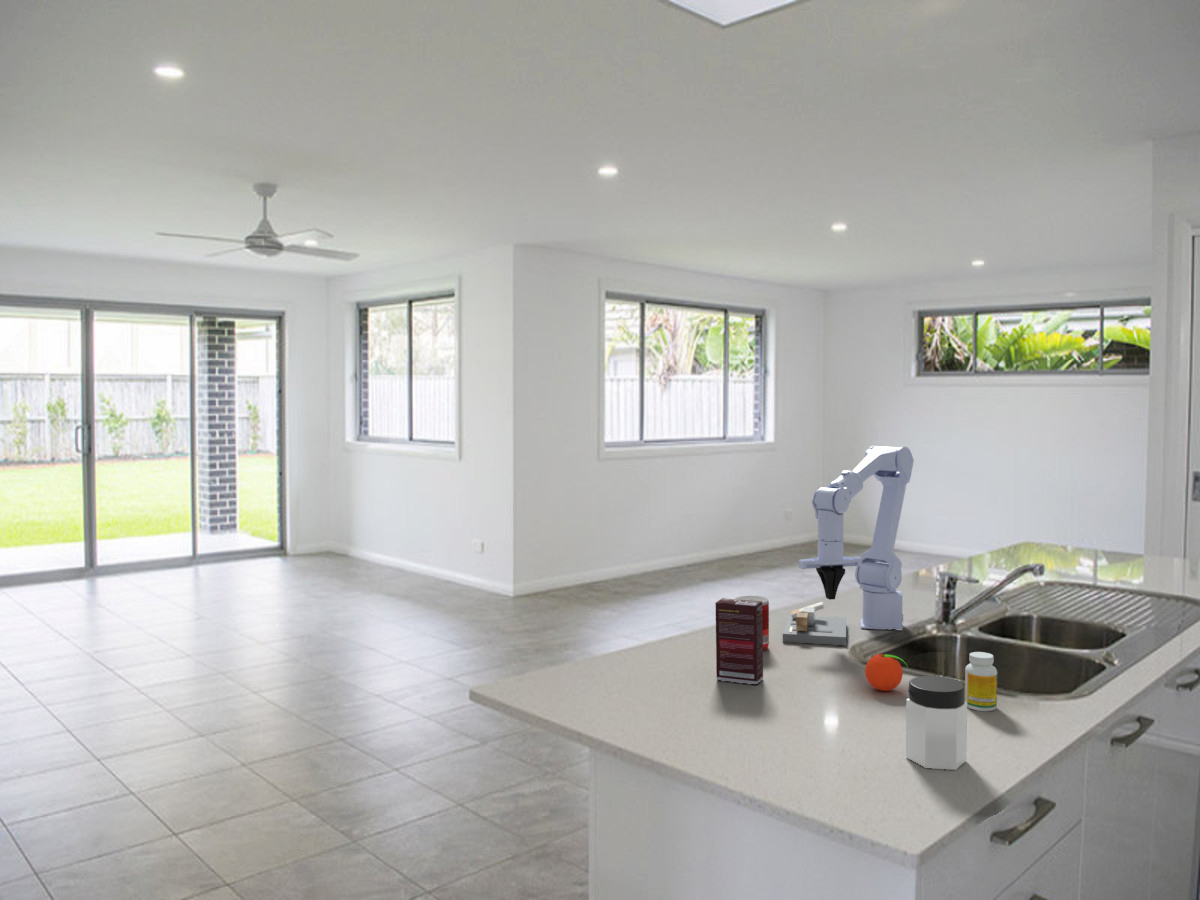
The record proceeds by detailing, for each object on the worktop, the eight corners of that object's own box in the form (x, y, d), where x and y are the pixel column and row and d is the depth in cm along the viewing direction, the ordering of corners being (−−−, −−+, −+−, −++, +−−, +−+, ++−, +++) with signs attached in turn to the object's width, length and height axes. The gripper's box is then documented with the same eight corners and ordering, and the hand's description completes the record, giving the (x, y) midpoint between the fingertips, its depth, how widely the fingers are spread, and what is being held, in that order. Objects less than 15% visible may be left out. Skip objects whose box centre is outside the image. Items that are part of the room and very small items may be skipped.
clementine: (907, 686, 177) (907, 650, 177) (909, 697, 171) (909, 660, 170) (864, 683, 180) (864, 647, 179) (864, 694, 173) (865, 657, 172)
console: (846, 625, 224) (846, 612, 224) (846, 645, 206) (846, 631, 206) (787, 622, 228) (787, 609, 228) (782, 642, 210) (782, 628, 209)
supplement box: (763, 679, 183) (763, 600, 182) (757, 686, 178) (757, 605, 177) (722, 674, 186) (721, 597, 185) (715, 681, 182) (714, 602, 181)
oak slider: (807, 626, 214) (807, 613, 214) (806, 631, 210) (806, 617, 210) (797, 626, 215) (797, 612, 214) (796, 630, 210) (796, 617, 210)
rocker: (824, 604, 224) (823, 600, 224) (824, 608, 220) (822, 604, 220) (793, 615, 226) (791, 611, 226) (792, 618, 222) (791, 614, 222)
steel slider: (814, 621, 219) (814, 608, 219) (813, 625, 215) (813, 612, 215) (804, 620, 220) (804, 607, 219) (803, 625, 215) (803, 611, 215)
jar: (920, 744, 148) (921, 671, 147) (972, 757, 143) (973, 681, 142) (898, 762, 141) (899, 685, 140) (952, 775, 136) (953, 696, 135)
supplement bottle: (959, 702, 168) (960, 650, 167) (989, 701, 168) (989, 650, 167) (971, 712, 162) (972, 659, 162) (1002, 711, 162) (1002, 658, 162)
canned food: (767, 643, 209) (767, 595, 208) (770, 653, 201) (770, 603, 201) (733, 642, 210) (733, 595, 209) (735, 652, 202) (735, 603, 201)
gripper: (852, 535, 215) (852, 593, 215) (793, 538, 212) (793, 596, 213) (866, 540, 208) (866, 599, 208) (806, 543, 205) (806, 603, 206)
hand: (830, 598), depth 210 cm, fingers closed
